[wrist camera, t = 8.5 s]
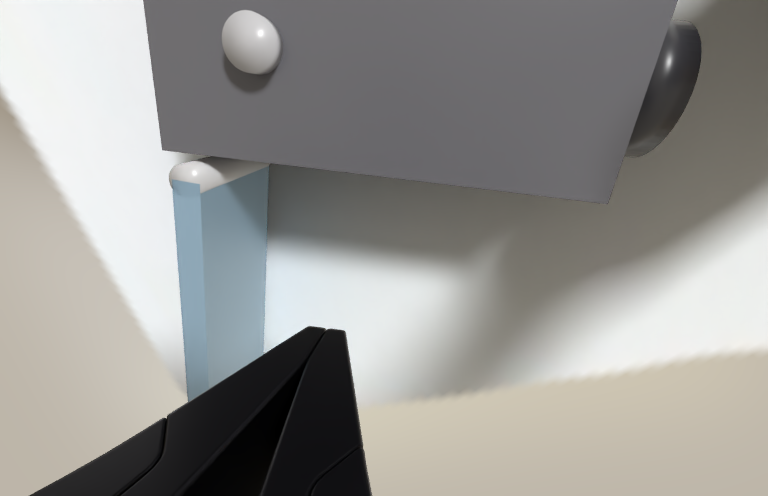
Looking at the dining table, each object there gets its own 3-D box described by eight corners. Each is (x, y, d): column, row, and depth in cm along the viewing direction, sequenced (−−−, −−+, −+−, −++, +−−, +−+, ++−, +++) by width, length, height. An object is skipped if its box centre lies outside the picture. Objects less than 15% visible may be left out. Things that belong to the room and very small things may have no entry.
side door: (264, 379, 23) (214, 465, 18) (238, 374, 23) (180, 458, 18) (271, 147, 18) (201, 167, 12) (237, 141, 18) (153, 158, 12)
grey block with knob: (637, 0, 15) (791, -74, 8) (583, 175, 17) (670, 215, 11) (234, -36, 15) (112, -125, 9) (242, 135, 18) (150, 152, 12)
